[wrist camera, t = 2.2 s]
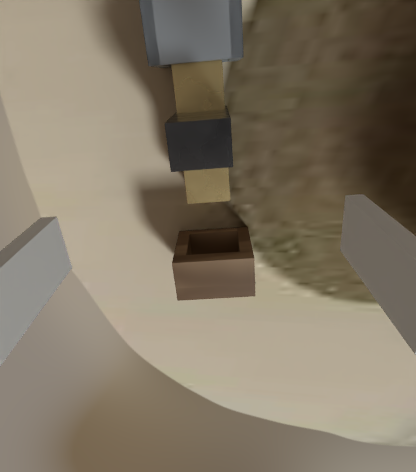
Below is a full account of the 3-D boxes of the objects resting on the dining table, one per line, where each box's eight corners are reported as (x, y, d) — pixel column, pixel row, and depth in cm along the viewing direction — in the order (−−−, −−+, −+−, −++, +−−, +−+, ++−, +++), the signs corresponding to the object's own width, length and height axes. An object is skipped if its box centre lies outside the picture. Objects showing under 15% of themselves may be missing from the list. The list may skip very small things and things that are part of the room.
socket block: (179, 231, 35) (172, 263, 29) (247, 226, 34) (254, 258, 28) (183, 264, 36) (177, 300, 30) (248, 260, 36) (255, 296, 30)
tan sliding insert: (159, -61, 24) (130, -132, 16) (216, -68, 23) (216, -143, 15) (188, 190, 32) (178, 230, 24) (230, 187, 31) (236, 227, 23)
